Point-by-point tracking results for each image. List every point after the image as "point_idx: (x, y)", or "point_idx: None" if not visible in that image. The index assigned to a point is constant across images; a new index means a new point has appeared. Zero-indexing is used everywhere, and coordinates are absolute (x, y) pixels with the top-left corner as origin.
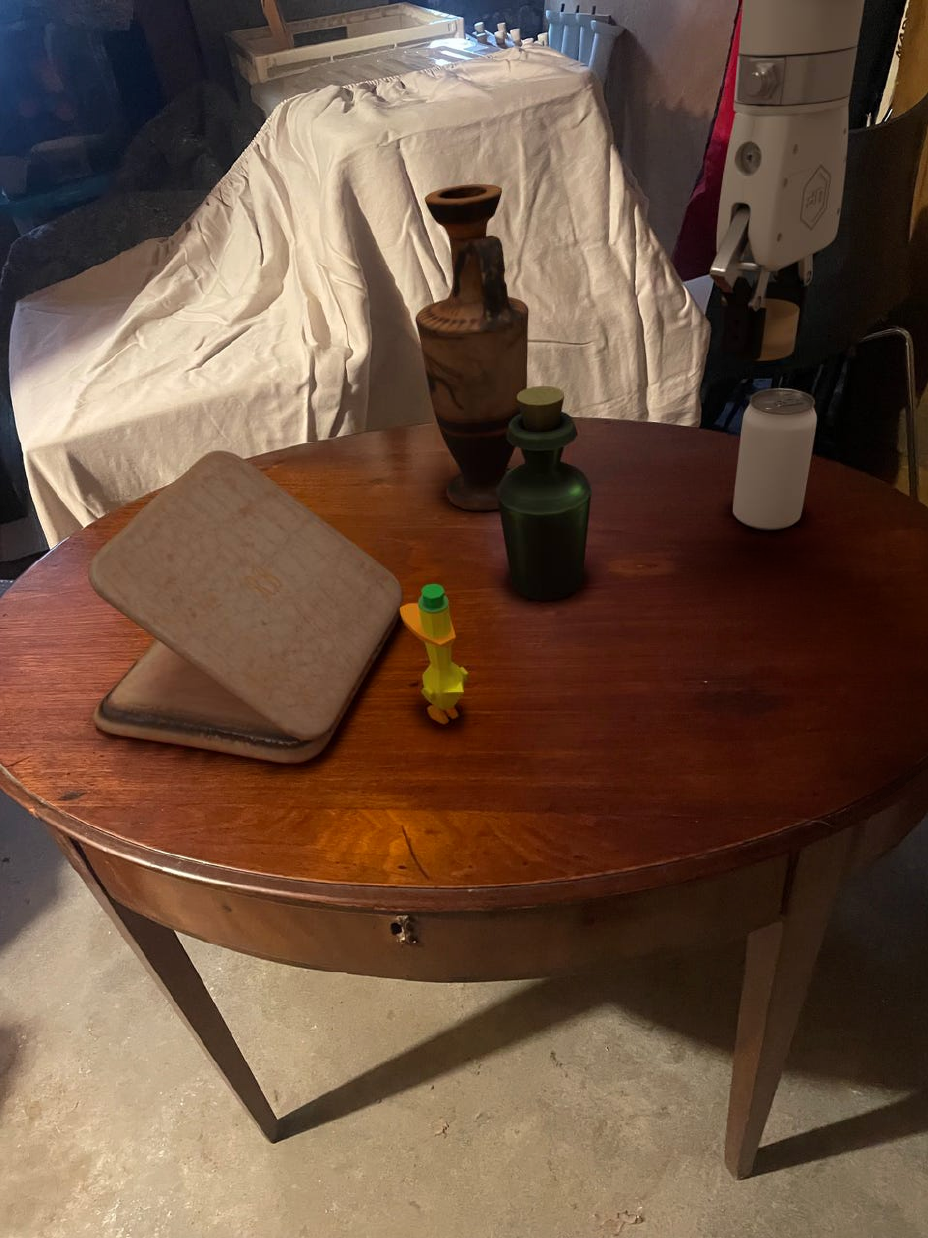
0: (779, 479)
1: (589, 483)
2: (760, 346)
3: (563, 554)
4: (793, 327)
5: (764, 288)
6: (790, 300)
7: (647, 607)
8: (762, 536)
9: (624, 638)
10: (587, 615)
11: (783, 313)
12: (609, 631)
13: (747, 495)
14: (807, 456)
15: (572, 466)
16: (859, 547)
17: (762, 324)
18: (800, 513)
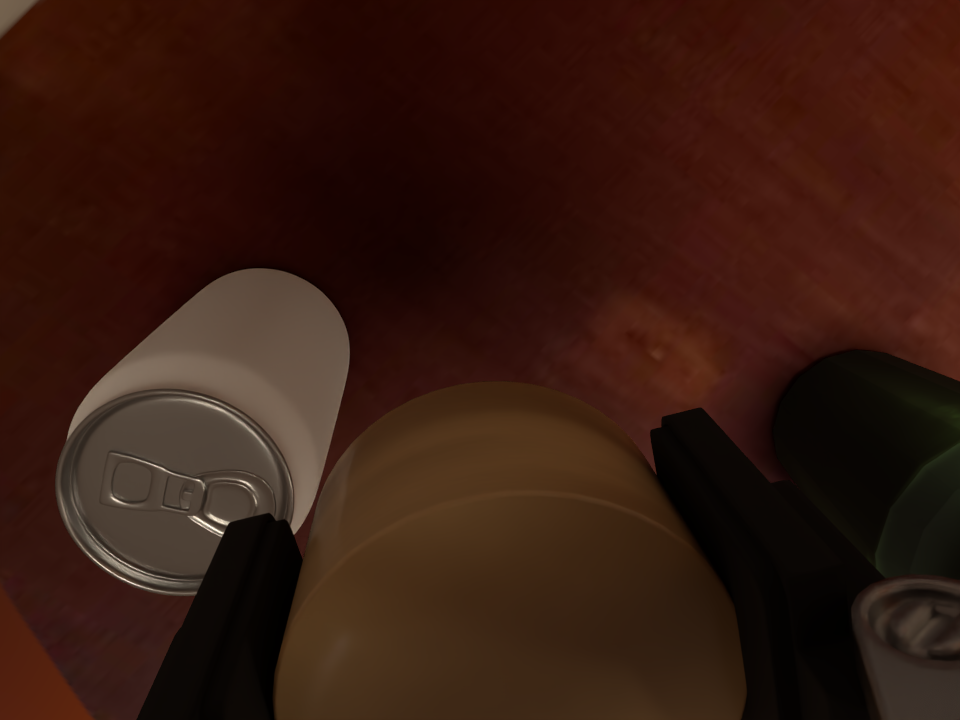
0: (289, 322)
1: (896, 501)
2: (700, 439)
3: (950, 381)
4: (450, 455)
5: (907, 718)
6: (262, 712)
7: (761, 218)
8: (344, 281)
9: (879, 158)
10: (872, 272)
11: (506, 561)
12: (882, 198)
13: (343, 369)
14: (185, 320)
15: (940, 564)
16: (180, 94)
17: (769, 505)
18: (217, 279)
